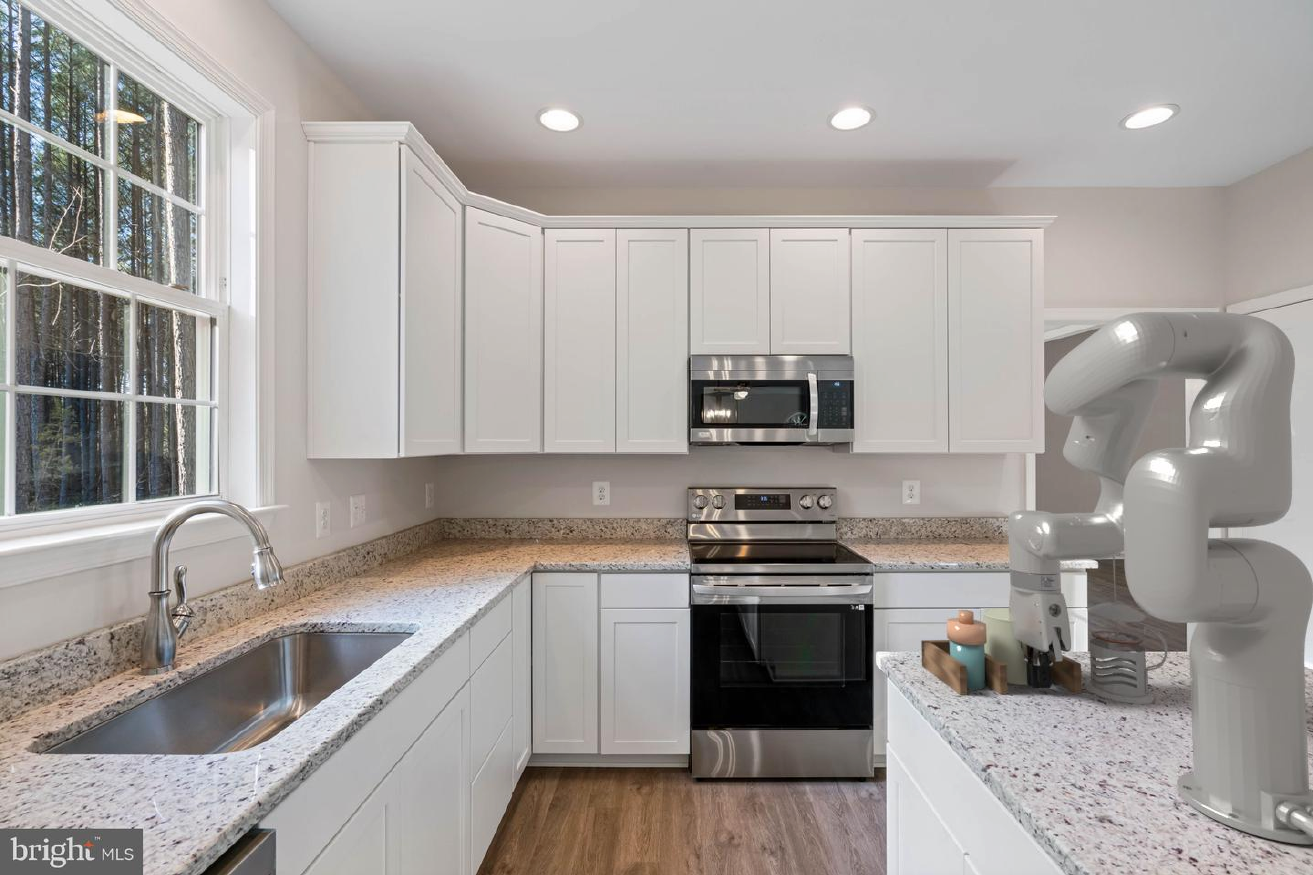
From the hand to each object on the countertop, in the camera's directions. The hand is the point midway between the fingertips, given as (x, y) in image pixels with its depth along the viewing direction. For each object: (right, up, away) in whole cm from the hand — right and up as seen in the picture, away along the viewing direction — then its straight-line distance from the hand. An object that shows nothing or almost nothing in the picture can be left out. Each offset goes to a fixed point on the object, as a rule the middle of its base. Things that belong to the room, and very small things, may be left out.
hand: (1038, 686), depth 102 cm
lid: (-10, +7, +4) cm, 13 cm away
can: (0, -2, +8) cm, 8 cm away
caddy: (-4, -1, +6) cm, 7 cm away
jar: (-10, -1, +4) cm, 11 cm away
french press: (+15, -1, -1) cm, 15 cm away
